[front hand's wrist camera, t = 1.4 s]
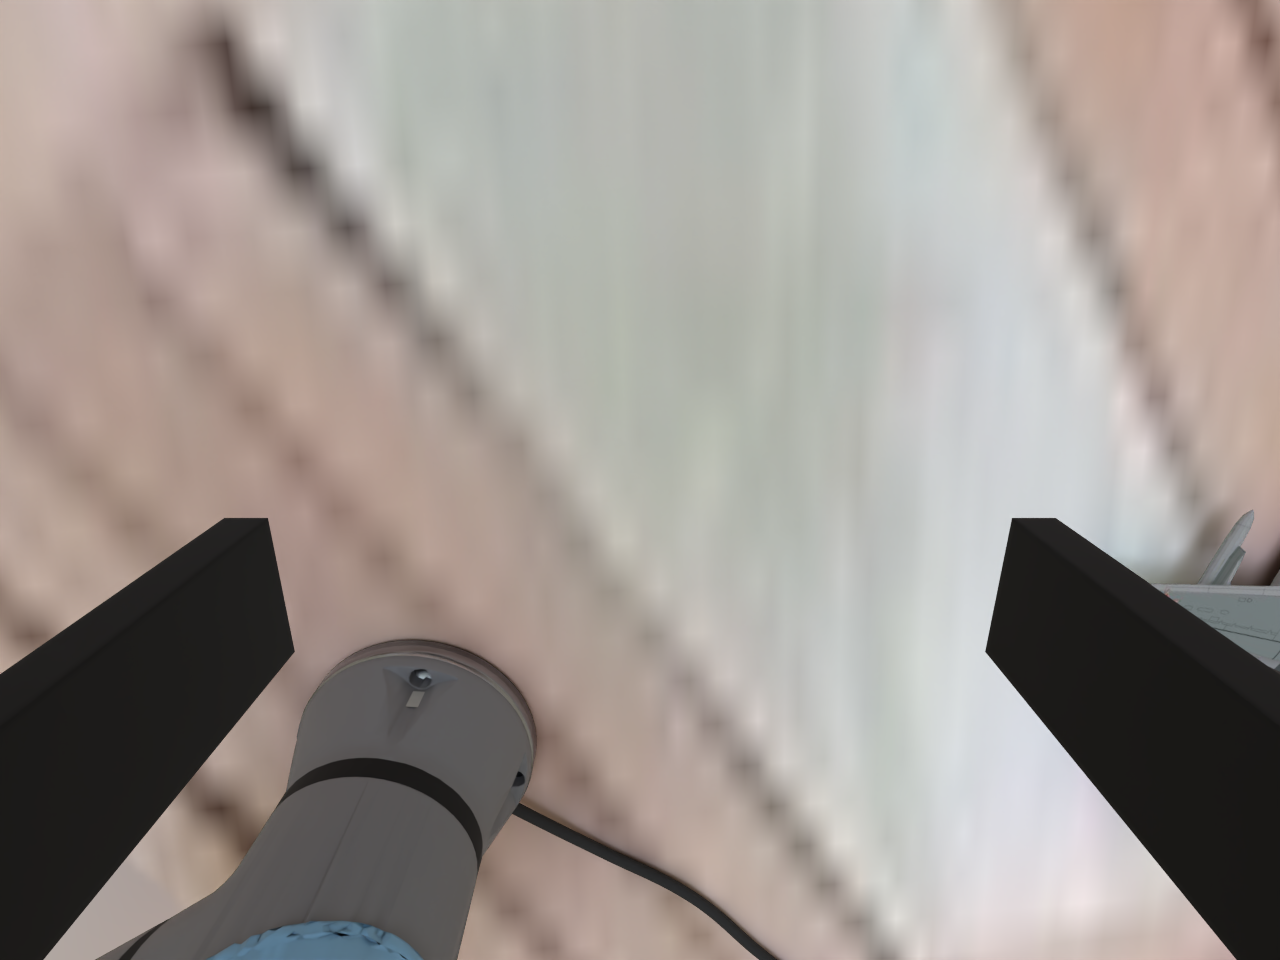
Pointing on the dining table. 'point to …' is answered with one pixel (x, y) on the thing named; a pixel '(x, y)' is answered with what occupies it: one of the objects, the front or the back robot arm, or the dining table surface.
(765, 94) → the dining table surface
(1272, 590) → the airplane
